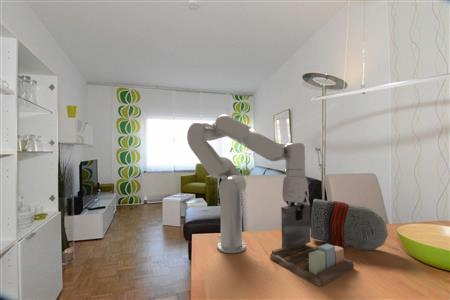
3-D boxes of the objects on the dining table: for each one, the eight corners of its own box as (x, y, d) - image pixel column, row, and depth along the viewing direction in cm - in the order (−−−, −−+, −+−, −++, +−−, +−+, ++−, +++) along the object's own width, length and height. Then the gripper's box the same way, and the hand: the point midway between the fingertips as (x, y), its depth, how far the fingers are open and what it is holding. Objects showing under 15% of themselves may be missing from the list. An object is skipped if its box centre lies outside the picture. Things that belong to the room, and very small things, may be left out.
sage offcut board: (309, 276, 77) (308, 253, 77) (317, 272, 80) (317, 249, 80) (316, 280, 75) (316, 256, 75) (325, 276, 77) (325, 252, 77)
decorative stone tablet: (312, 199, 105) (391, 212, 92) (313, 197, 111) (387, 208, 98) (308, 241, 105) (386, 259, 93) (309, 236, 111) (383, 252, 98)
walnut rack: (270, 258, 90) (270, 251, 90) (303, 247, 101) (303, 240, 101) (319, 286, 72) (319, 277, 72) (353, 268, 82) (353, 260, 82)
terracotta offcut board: (328, 267, 83) (328, 248, 83) (336, 264, 86) (335, 245, 86) (336, 271, 81) (336, 251, 81) (343, 267, 83) (343, 248, 83)
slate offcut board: (319, 271, 80) (318, 246, 80) (327, 268, 83) (327, 243, 83) (326, 275, 78) (326, 249, 78) (335, 271, 80) (334, 246, 80)
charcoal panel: (281, 248, 89) (281, 207, 89) (305, 240, 97) (304, 202, 97) (286, 250, 87) (286, 208, 87) (310, 242, 94) (309, 203, 95)
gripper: (274, 172, 97) (274, 215, 97) (305, 175, 83) (306, 226, 83) (286, 171, 101) (287, 213, 101) (318, 174, 87) (319, 222, 87)
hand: (296, 218), depth 92 cm, fingers closed on charcoal panel, 2 cm apart
